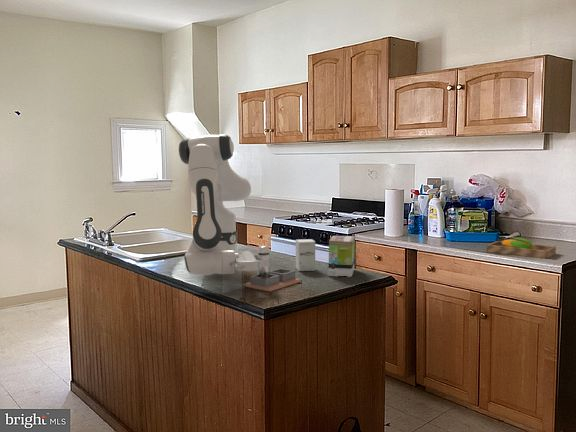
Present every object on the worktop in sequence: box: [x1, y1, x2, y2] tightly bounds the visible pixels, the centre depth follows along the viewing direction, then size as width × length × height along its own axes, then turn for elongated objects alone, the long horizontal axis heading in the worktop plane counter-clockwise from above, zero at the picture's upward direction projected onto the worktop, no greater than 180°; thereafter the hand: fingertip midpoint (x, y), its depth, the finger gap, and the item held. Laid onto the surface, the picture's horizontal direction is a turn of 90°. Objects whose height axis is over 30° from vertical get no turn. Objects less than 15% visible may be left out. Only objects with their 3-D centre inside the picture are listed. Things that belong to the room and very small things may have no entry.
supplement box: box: [295, 238, 316, 272], centre depth 230 cm, size 7×7×13 cm
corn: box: [502, 237, 533, 249], centre depth 265 cm, size 7×8×20 cm
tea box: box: [327, 235, 356, 278], centre depth 223 cm, size 15×10×15 cm
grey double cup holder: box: [245, 267, 301, 292], centre depth 205 cm, size 12×18×4 cm, turn 141°
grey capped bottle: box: [257, 245, 271, 278], centre depth 201 cm, size 4×4×14 cm
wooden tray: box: [486, 240, 557, 259], centre depth 263 cm, size 28×15×4 cm, turn 51°
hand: (266, 260), depth 200 cm, fingers open, 8 cm apart
